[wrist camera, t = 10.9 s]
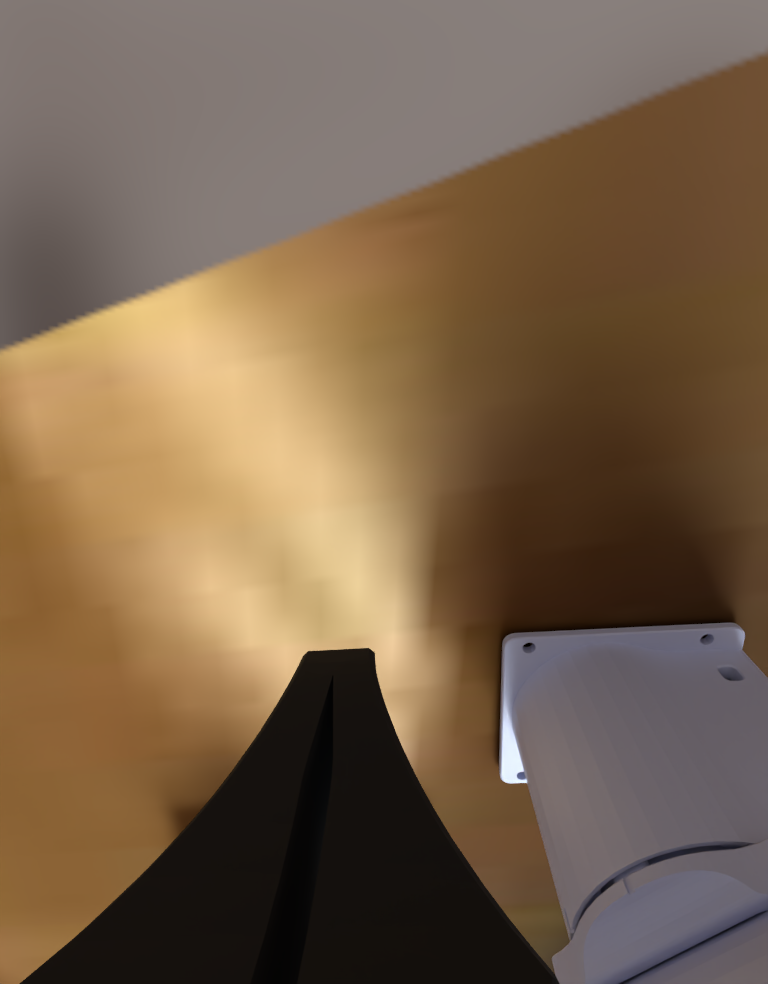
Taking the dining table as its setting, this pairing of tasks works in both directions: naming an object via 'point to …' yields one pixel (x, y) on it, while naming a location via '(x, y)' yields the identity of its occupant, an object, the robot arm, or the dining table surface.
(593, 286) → the dining table surface
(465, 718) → the dining table surface
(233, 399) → the dining table surface
